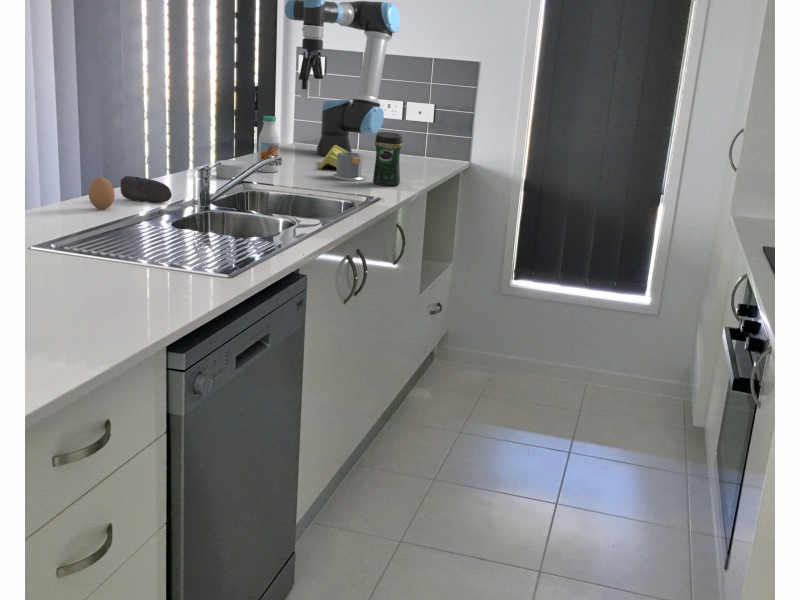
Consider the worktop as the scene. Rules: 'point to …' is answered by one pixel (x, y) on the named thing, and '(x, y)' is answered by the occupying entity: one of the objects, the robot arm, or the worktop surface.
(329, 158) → the plastic component
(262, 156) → the milk bottle
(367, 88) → the robot arm
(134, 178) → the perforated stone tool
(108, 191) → the egg
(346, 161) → the grey octagonal holder
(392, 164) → the coffee jar
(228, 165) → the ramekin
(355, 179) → the duct stub
